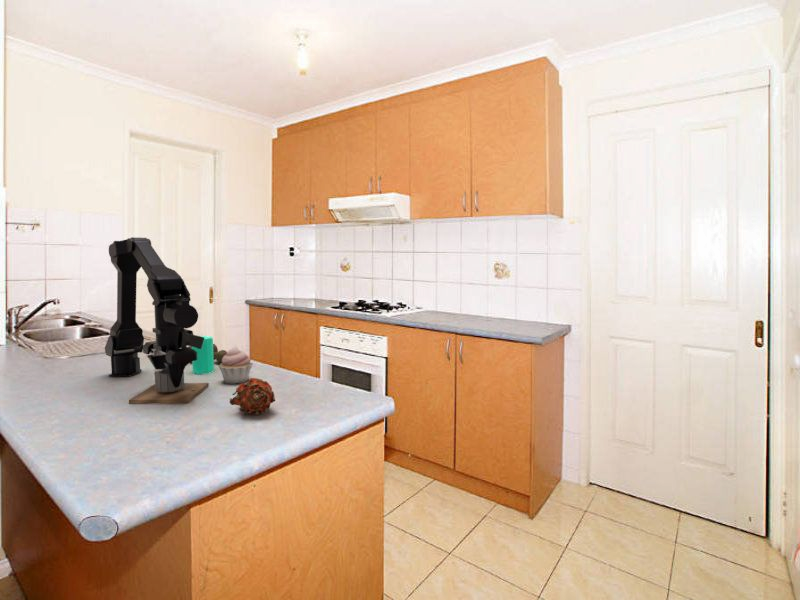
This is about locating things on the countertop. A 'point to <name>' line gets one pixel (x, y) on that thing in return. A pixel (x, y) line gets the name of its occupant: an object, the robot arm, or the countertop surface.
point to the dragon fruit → (253, 396)
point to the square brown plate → (169, 394)
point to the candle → (204, 357)
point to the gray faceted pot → (166, 381)
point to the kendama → (216, 353)
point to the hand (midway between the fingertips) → (170, 384)
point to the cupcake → (235, 366)
